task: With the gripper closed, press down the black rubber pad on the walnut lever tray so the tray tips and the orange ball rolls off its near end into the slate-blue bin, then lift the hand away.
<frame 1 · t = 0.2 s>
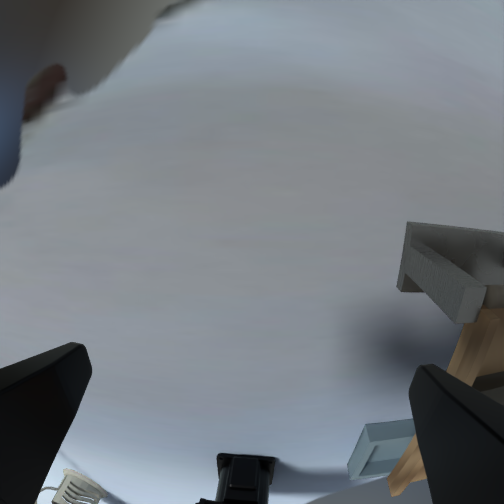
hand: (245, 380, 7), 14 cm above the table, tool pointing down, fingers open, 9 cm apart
lever tray: (485, 407, 15), point 8 cm above the table, hinge at 0.0°, touching ball
hinge stand: (472, 258, 20), on the table
french press: (81, 480, 37), on the table
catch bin: (403, 440, 26), on the table
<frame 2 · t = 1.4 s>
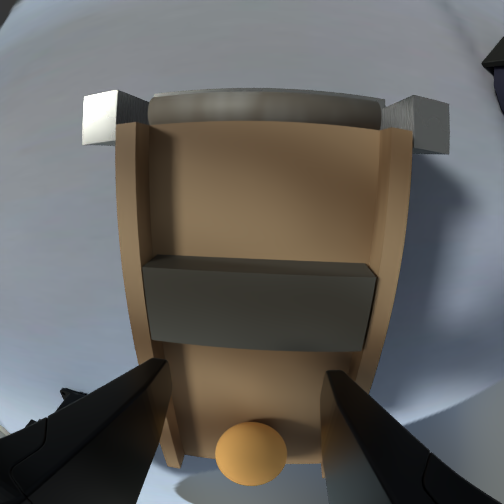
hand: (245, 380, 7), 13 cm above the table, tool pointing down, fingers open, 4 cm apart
lever tray: (257, 339, 12), point 8 cm above the table, hinge at 0.0°, touching ball
hinge stand: (268, 130, 17), on the table
ball: (251, 454, 12), point 10 cm above the table, touching lever tray
french press: (2, 433, 34), on the table
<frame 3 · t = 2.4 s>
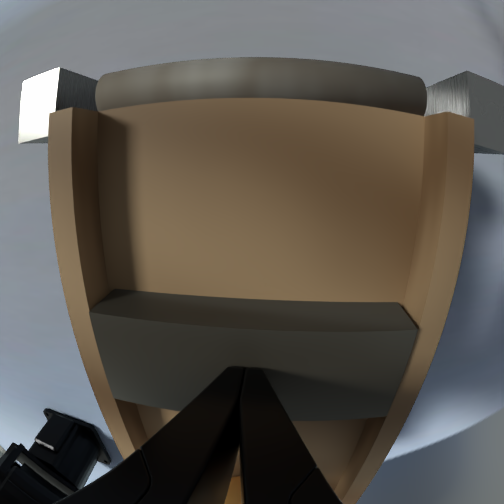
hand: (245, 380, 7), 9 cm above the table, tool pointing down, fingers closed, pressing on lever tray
lever tray: (250, 396, 9), point 8 cm above the table, hinge at 0.8°, touching ball, gripper
hinge stand: (266, 122, 14), on the table
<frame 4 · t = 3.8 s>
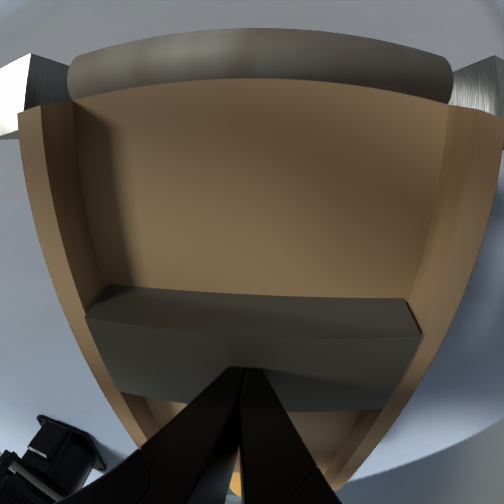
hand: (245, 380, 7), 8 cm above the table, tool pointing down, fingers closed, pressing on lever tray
lever tray: (251, 382, 9), point 6 cm above the table, hinge at 11.6°, touching gripper
hinge stand: (265, 115, 13), on the table
ball: (251, 478, 17), point 2 cm above the table, tilted 79°, touching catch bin
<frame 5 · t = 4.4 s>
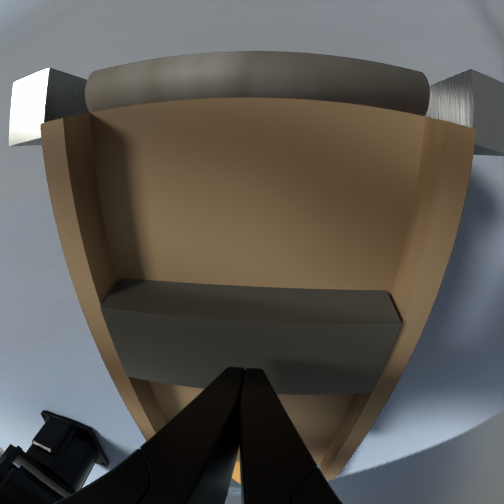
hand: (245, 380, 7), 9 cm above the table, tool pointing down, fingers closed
lever tray: (249, 368, 10), point 6 cm above the table, hinge at 11.6°
hinge stand: (263, 122, 14), on the table
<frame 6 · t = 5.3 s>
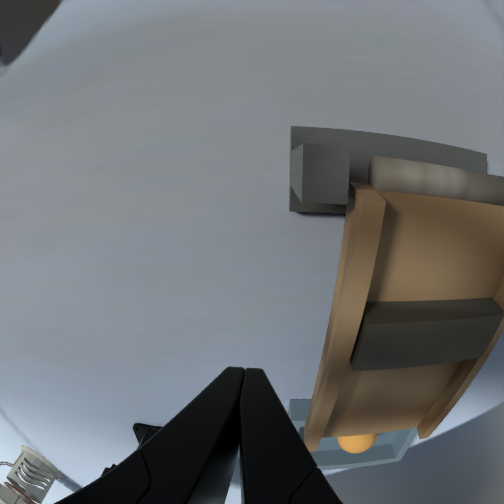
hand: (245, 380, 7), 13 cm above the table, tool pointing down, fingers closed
lever tray: (415, 352, 14), point 6 cm above the table, hinge at 11.6°
hinge stand: (397, 176, 17), on the table
ball: (357, 434, 21), point 2 cm above the table, tilted 135°, touching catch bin
french press: (37, 459, 35), on the table
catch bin: (349, 426, 24), on the table
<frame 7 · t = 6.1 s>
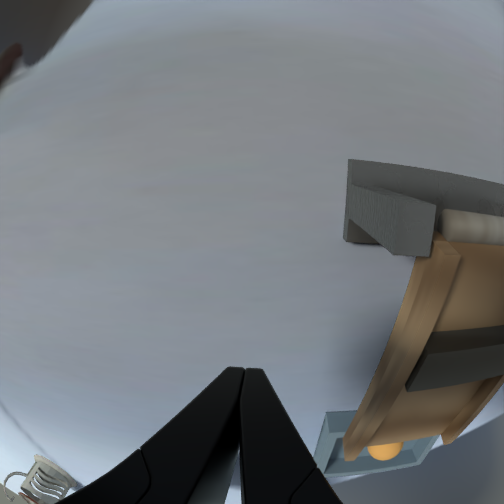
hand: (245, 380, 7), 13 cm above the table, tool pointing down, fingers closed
lever tray: (453, 371, 14), point 6 cm above the table, hinge at 11.6°
hinge stand: (439, 208, 18), on the table
ball: (385, 443, 22), point 2 cm above the table, tilted 130°, touching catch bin
french press: (51, 468, 35), on the table
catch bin: (377, 434, 24), on the table
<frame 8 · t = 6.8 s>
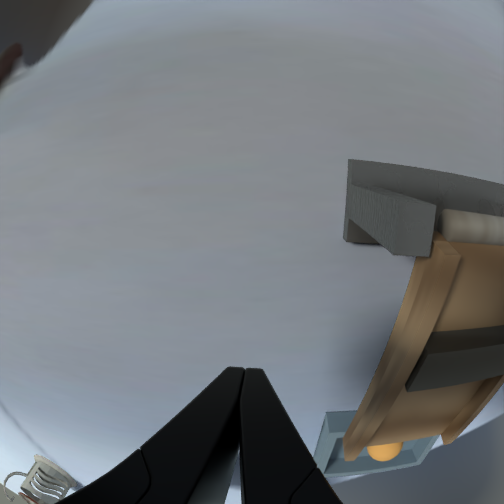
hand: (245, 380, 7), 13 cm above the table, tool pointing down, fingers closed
lever tray: (453, 371, 14), point 6 cm above the table, hinge at 11.6°
hinge stand: (439, 208, 18), on the table
ball: (385, 444, 22), point 2 cm above the table, tilted 126°, touching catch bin
french press: (51, 468, 35), on the table
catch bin: (377, 434, 24), on the table
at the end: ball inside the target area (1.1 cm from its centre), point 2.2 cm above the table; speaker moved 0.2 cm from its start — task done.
